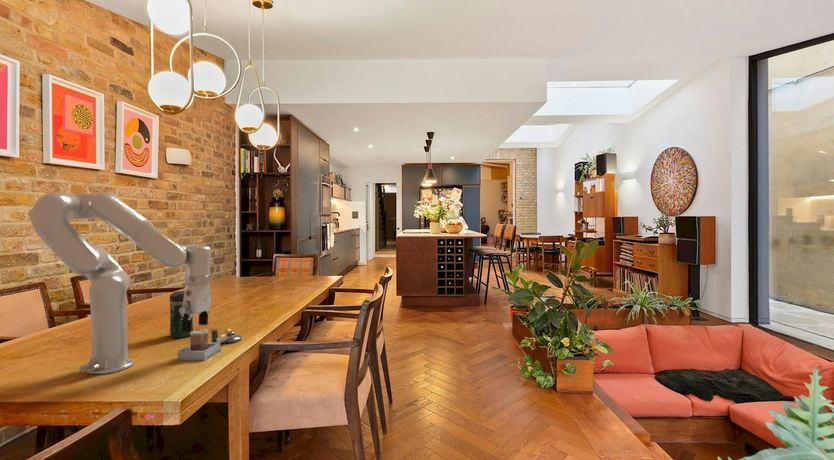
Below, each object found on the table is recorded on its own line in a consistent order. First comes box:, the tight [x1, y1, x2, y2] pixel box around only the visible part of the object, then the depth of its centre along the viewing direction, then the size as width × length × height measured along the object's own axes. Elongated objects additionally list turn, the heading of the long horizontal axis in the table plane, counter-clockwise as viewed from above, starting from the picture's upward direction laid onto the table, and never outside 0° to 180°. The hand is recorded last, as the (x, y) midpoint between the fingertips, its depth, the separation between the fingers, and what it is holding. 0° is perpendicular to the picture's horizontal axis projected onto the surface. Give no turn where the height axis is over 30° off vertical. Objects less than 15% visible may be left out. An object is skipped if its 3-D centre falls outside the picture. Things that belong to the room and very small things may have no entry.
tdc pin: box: [224, 328, 232, 335], centre depth 172 cm, size 2×2×3 cm
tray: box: [177, 342, 221, 361], centre depth 149 cm, size 10×10×3 cm
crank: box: [208, 327, 236, 344], centre depth 162 cm, size 12×4×6 cm, turn 166°
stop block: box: [189, 328, 209, 351], centre depth 149 cm, size 4×4×8 cm
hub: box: [221, 334, 242, 344], centre depth 167 cm, size 8×8×1 cm
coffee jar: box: [169, 290, 194, 339], centre depth 173 cm, size 10×8×19 cm
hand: (195, 327), depth 148 cm, fingers open, 9 cm apart
